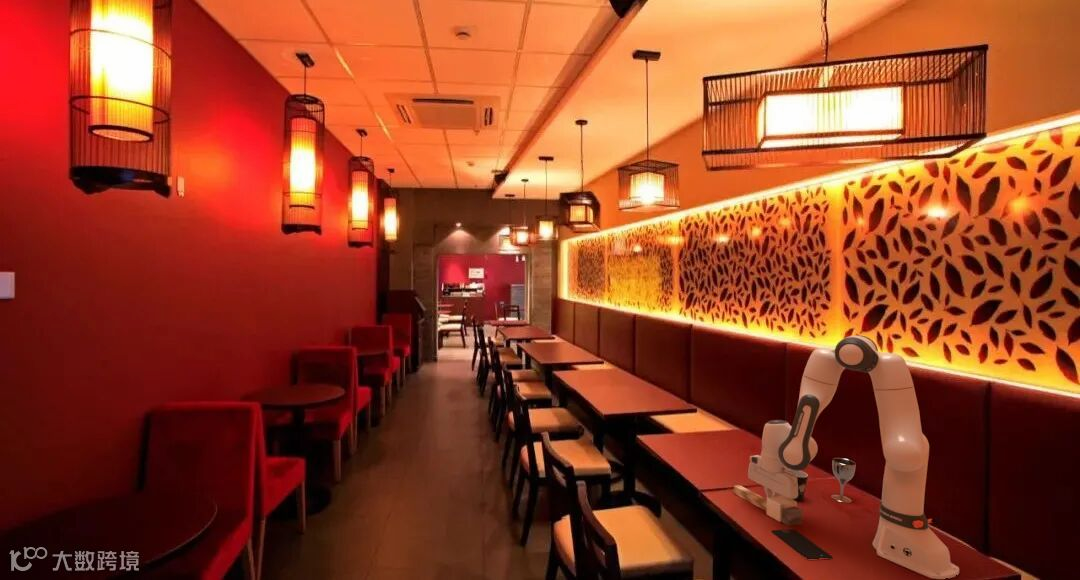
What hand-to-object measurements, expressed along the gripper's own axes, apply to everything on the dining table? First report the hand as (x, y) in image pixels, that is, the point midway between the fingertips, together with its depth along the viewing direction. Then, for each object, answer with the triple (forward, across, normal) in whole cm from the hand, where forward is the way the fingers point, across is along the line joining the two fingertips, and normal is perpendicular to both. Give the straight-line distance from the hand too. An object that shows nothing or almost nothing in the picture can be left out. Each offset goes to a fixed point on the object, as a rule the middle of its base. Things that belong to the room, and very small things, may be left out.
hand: (770, 500), depth 194 cm
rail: (+4, +3, 0) cm, 5 cm away
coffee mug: (+4, +7, -18) cm, 20 cm away
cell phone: (+4, -22, +10) cm, 24 cm away
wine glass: (+4, 0, -38) cm, 38 cm away
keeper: (+4, -5, 0) cm, 6 cm away
